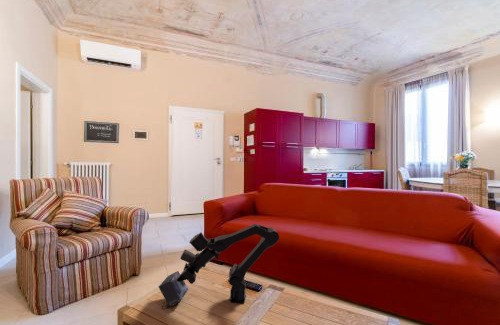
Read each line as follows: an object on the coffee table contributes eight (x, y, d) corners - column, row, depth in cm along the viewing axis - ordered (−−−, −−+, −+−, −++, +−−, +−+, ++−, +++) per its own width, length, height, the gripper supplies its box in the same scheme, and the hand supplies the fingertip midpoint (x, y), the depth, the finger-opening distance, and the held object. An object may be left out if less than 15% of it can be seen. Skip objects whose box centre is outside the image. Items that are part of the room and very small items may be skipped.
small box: (181, 301, 111) (169, 280, 111) (169, 308, 111) (157, 287, 112) (189, 288, 121) (178, 269, 121) (178, 294, 122) (167, 276, 122)
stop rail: (178, 292, 124) (178, 289, 124) (165, 309, 110) (165, 305, 110) (175, 292, 124) (175, 289, 124) (161, 308, 110) (161, 305, 110)
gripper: (194, 238, 126) (170, 259, 125) (189, 252, 107) (160, 277, 106) (209, 255, 127) (184, 275, 126) (206, 271, 108) (178, 296, 107)
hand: (177, 280), depth 116 cm, fingers closed
